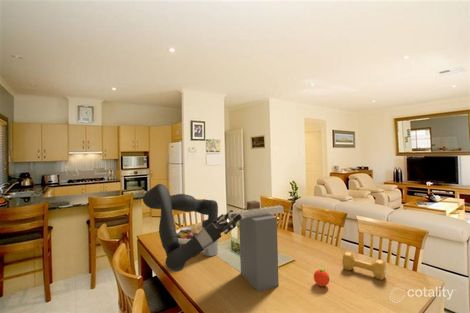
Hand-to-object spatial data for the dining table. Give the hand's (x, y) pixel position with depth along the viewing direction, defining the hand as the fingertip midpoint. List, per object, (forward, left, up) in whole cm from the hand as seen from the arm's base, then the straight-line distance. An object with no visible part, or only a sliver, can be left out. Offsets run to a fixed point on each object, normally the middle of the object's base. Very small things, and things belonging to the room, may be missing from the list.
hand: (236, 213), depth 111 cm
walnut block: (-8, +12, -2) cm, 15 cm away
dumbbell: (+16, +61, -35) cm, 72 cm away
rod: (0, +10, -2) cm, 11 cm away
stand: (-2, +11, -34) cm, 36 cm away
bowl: (-73, -4, -35) cm, 81 cm away
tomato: (+15, +35, -35) cm, 52 cm away
